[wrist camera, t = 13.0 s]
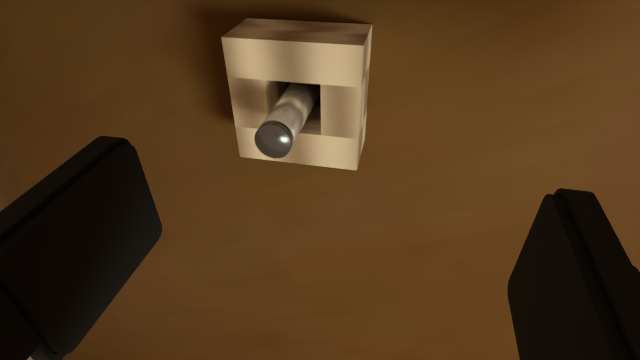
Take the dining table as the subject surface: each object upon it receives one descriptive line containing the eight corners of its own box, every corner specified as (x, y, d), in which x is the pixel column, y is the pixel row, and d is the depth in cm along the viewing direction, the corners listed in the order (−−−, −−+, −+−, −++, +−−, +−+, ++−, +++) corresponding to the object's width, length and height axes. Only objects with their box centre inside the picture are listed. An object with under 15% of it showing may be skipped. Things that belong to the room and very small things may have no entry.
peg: (323, 69, 39) (289, 127, 30) (323, 97, 41) (292, 160, 32) (294, 67, 40) (252, 123, 30) (295, 94, 42) (256, 156, 32)
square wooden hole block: (372, 24, 36) (363, 45, 31) (364, 139, 43) (356, 170, 38) (246, 18, 38) (221, 37, 33) (259, 128, 45) (240, 156, 40)
